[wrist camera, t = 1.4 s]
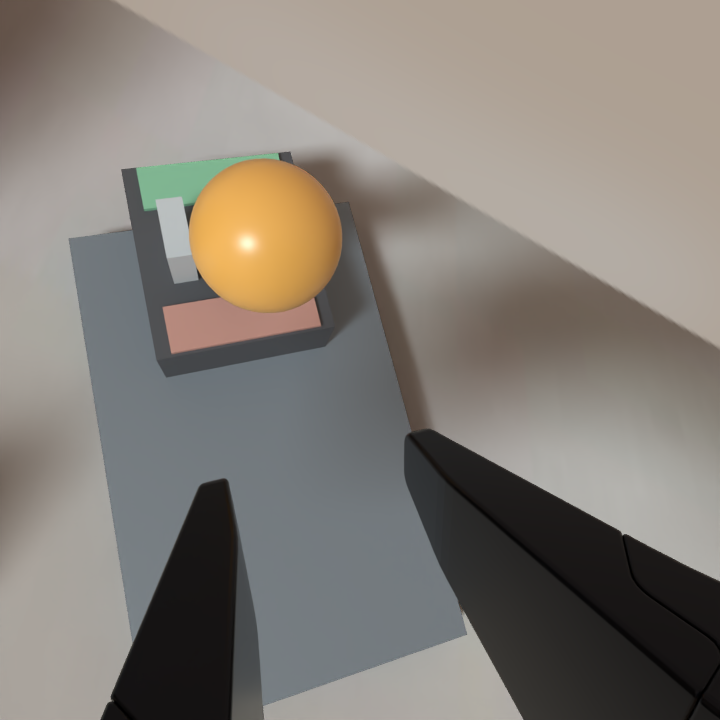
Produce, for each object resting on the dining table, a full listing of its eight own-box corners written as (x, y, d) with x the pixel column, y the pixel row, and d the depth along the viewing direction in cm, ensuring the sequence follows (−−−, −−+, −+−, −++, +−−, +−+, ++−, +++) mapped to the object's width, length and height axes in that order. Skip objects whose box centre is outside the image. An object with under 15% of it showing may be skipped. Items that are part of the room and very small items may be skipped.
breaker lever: (274, 280, 20) (371, 305, 9) (198, 292, 19) (208, 334, 9) (261, 203, 19) (347, 136, 9) (181, 213, 18) (171, 153, 8)
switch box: (452, 626, 22) (526, 666, 16) (155, 728, 19) (119, 820, 13) (337, 199, 26) (364, 110, 20) (76, 233, 23) (21, 140, 17)
